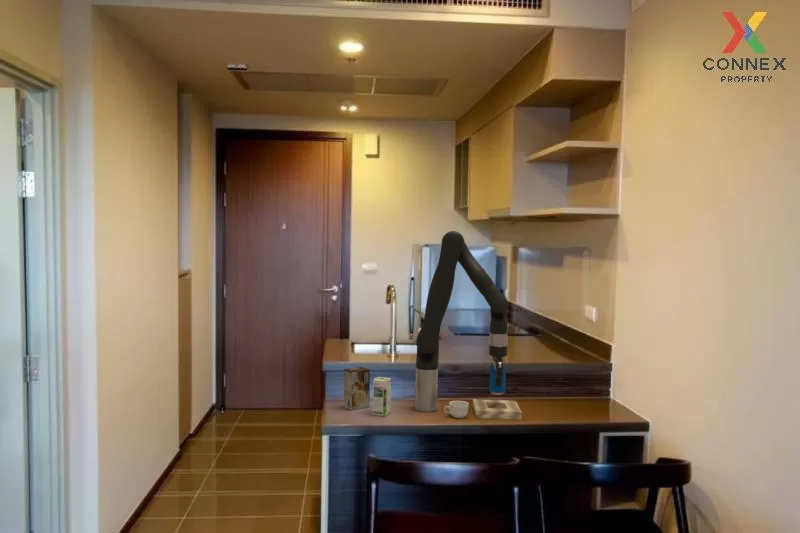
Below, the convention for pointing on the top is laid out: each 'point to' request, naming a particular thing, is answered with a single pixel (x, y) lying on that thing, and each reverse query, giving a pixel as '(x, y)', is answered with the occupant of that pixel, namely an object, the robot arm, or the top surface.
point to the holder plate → (497, 409)
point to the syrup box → (381, 396)
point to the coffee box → (356, 388)
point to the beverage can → (493, 388)
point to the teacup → (458, 408)
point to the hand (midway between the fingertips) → (497, 384)
